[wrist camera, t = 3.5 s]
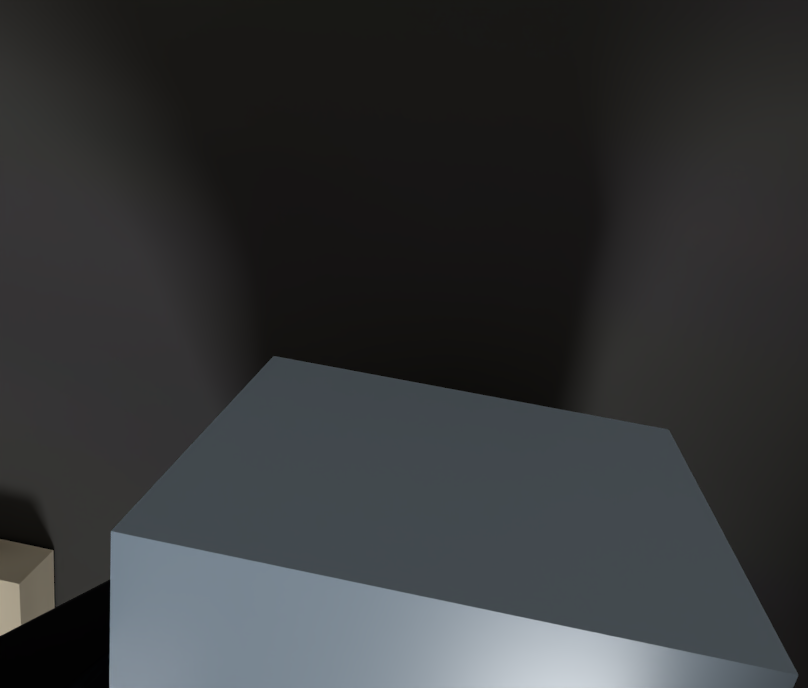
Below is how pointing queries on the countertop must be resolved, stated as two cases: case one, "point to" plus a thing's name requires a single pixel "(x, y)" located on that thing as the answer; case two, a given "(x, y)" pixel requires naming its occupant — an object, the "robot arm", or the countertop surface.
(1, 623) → the base plate
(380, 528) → the middle brick
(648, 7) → the countertop surface
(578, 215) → the countertop surface
